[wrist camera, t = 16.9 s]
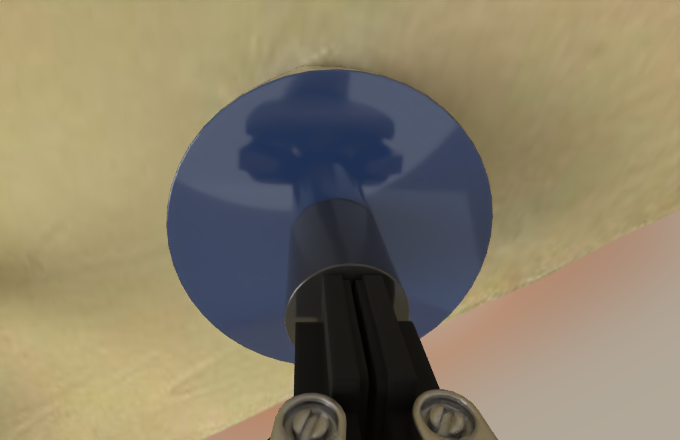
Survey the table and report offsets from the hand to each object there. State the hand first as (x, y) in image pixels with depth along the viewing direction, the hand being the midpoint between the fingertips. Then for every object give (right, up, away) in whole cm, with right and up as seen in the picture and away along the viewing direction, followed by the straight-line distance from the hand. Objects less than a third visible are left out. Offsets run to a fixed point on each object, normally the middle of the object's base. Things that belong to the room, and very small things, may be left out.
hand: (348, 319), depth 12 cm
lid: (0, +2, +5) cm, 6 cm away
